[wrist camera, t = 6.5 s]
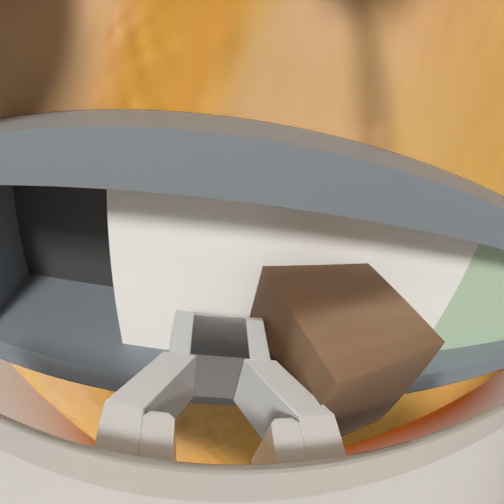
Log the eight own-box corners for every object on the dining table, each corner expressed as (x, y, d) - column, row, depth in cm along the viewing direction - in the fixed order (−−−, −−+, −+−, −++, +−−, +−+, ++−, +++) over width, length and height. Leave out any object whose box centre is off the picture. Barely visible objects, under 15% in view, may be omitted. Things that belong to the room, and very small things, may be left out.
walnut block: (262, 266, 8) (336, 382, 5) (368, 263, 10) (445, 342, 7) (237, 359, 10) (279, 457, 7) (329, 344, 12) (379, 419, 9)
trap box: (1, 118, 9) (-79, 147, 4) (558, 226, 15) (596, 258, 10) (25, 287, 14) (-17, 351, 9) (513, 316, 20) (542, 353, 15)
